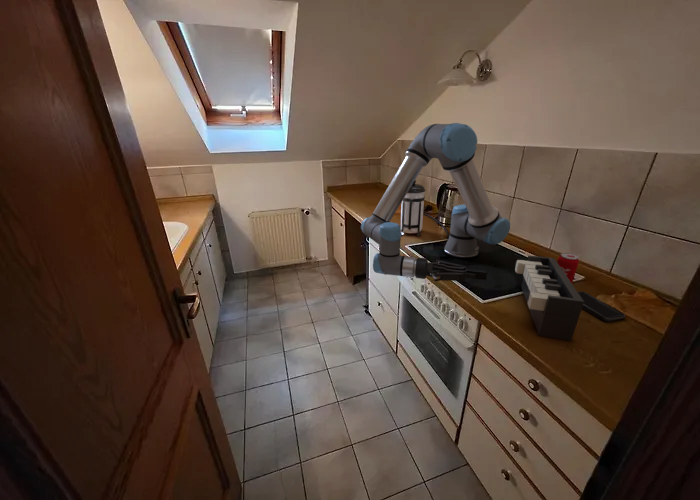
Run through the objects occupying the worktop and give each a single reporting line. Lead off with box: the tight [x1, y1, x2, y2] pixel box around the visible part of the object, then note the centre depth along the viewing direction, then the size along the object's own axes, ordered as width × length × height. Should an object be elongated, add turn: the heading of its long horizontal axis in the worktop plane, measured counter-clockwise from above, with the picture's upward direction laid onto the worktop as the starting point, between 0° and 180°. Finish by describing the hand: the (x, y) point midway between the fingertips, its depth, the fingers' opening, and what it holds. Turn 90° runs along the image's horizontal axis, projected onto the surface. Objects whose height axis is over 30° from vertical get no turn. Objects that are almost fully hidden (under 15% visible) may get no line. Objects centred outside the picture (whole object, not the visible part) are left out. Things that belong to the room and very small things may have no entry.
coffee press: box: [400, 179, 426, 237], centre depth 162 cm, size 17×16×30 cm
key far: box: [514, 259, 542, 275], centre depth 105 cm, size 3×8×4 cm, turn 71°
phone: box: [577, 291, 626, 323], centre depth 98 cm, size 8×1×15 cm
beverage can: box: [556, 252, 580, 284], centre depth 110 cm, size 6×6×12 cm
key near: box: [527, 292, 557, 311], centre depth 85 cm, size 3×8×4 cm, turn 71°
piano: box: [520, 254, 584, 342], centre depth 95 cm, size 29×10×13 cm, turn 161°
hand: (486, 275), depth 101 cm, fingers closed
